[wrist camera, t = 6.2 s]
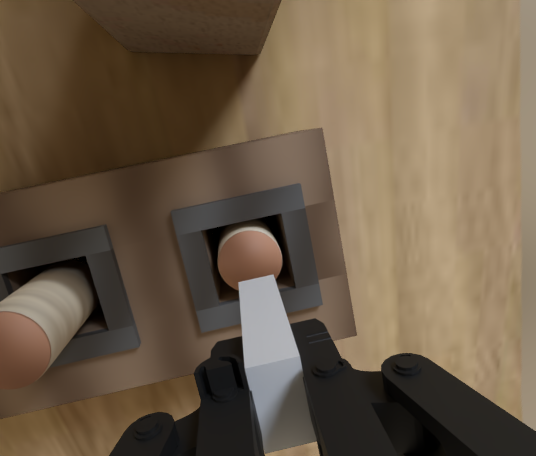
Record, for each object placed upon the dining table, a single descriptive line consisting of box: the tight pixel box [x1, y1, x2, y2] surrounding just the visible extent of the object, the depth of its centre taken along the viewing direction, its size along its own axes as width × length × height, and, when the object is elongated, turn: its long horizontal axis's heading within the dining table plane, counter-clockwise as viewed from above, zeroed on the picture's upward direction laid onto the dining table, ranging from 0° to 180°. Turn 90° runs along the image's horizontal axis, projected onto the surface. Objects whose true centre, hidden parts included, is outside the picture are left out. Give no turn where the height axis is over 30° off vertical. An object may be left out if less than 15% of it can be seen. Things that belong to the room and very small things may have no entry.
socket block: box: [0, 128, 357, 419], centre depth 30 cm, size 24×14×9 cm, turn 102°
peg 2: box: [218, 217, 282, 291], centre depth 30 cm, size 4×4×8 cm
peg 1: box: [0, 260, 100, 390], centre depth 24 cm, size 4×4×8 cm
